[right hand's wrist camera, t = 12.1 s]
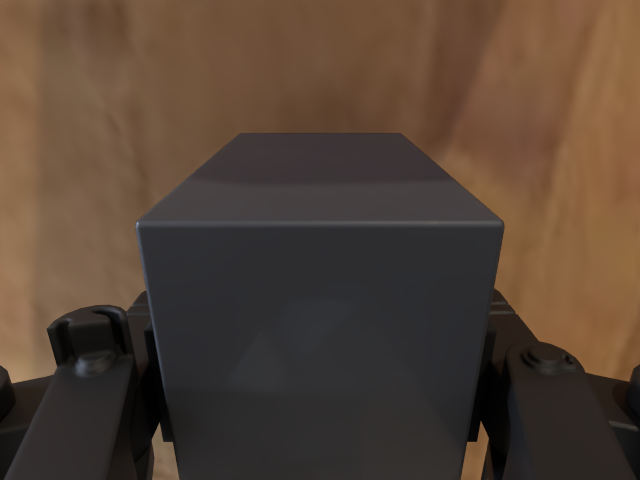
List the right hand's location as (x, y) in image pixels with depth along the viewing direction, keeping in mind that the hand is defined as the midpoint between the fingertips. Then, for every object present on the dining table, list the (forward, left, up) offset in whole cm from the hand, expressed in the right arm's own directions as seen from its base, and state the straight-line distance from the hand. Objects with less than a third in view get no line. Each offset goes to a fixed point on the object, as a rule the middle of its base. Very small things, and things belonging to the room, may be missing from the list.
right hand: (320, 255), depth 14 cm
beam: (+5, -13, 0) cm, 14 cm away
